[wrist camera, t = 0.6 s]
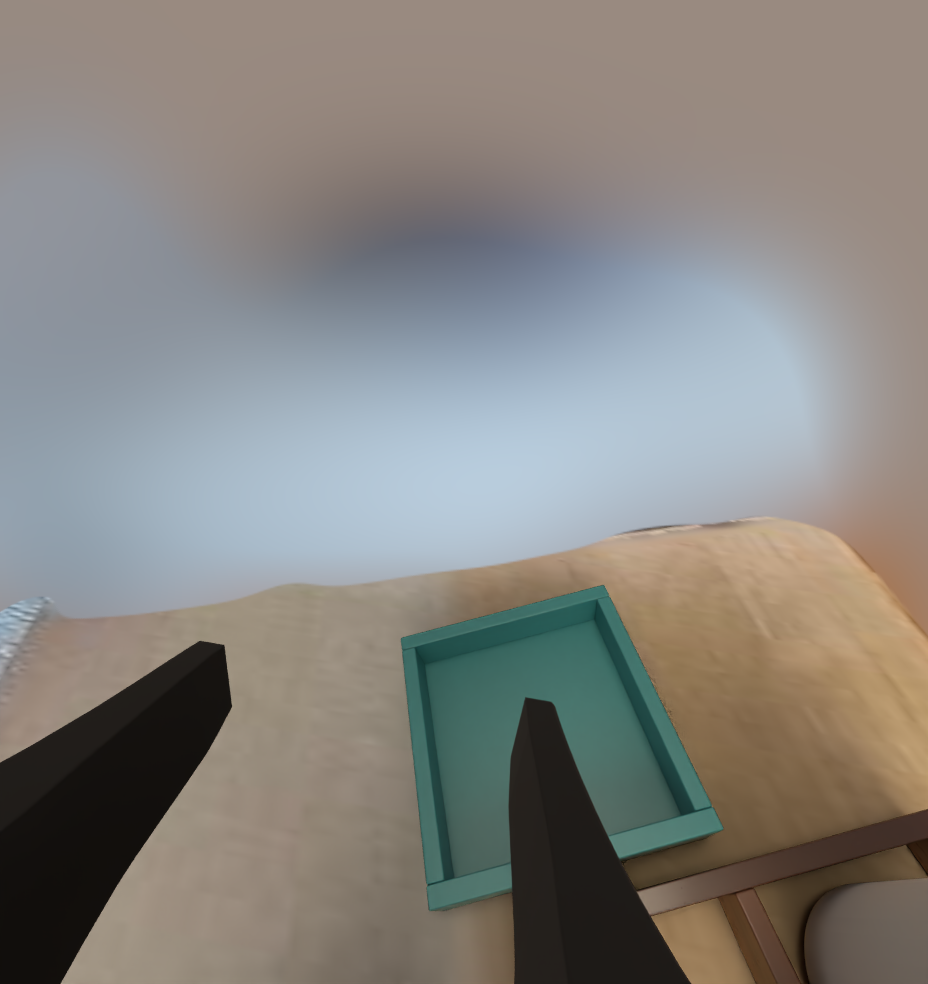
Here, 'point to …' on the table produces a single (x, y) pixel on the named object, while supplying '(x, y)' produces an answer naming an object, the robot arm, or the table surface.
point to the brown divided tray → (736, 881)
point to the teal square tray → (493, 726)
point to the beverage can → (869, 934)
